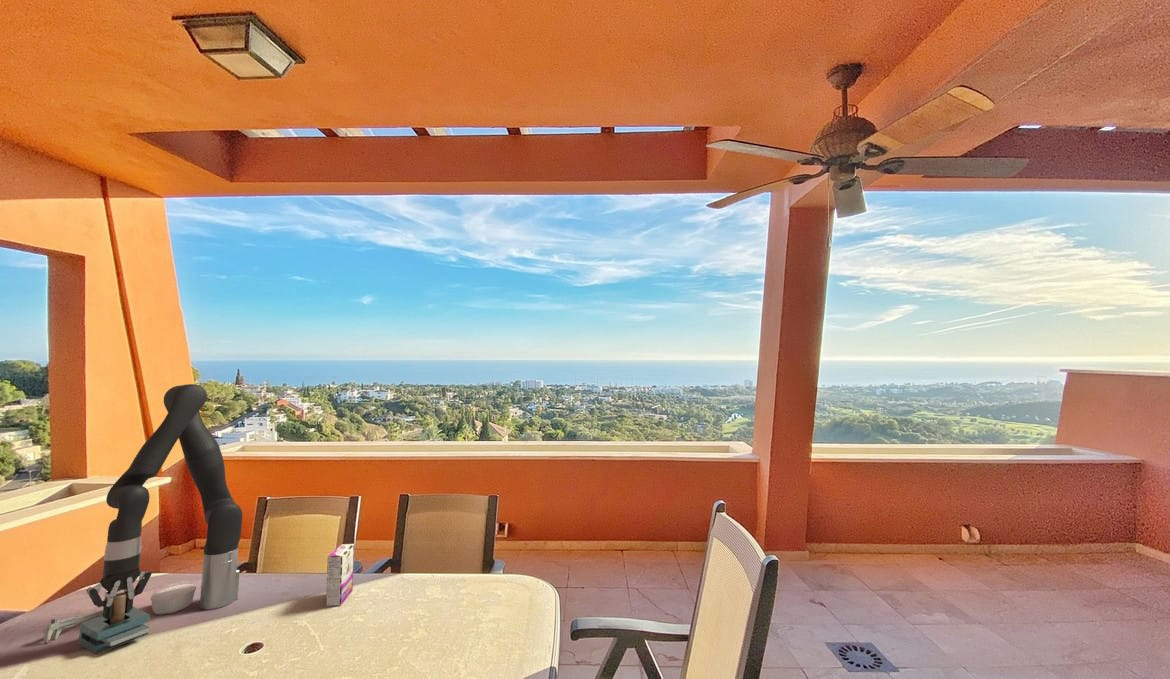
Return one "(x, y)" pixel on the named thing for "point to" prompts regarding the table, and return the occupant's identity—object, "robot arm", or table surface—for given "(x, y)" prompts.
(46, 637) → the caliper
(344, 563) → the candy bar box
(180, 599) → the ramekin
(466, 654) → the table surface
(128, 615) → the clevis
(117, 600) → the pin
